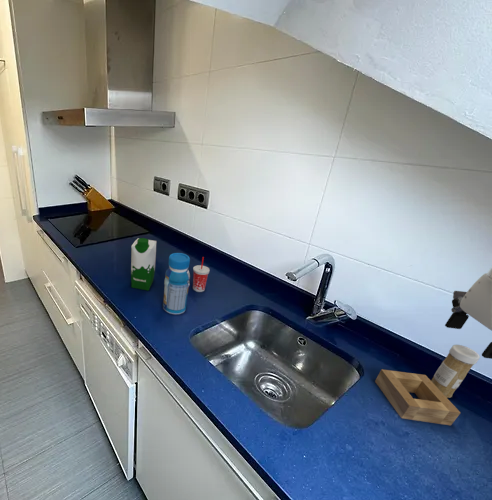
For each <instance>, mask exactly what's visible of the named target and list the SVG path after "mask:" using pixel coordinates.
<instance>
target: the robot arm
mask: <svg viewBox="0 0 492 500" xmlns="http://www.w3.org/2000/svg"><path fill="white" fill-rule="evenodd" d="M451 304H452V308H451V309H450V311H451V315H450V316H449V318H448V319H447V321H446V322H445V324H444V326H445V327H446V328H447V329H455V330H461V329H462V328H463V327H464V325H465V324H466V323H467V321H468V319H469V317H471V318H472V319H474V320H475V321H477V322H478V323H479V324H481V325H483V326H484V327H485V328H487V329H488V330H490V331H492V266H491V267H490V268H489V270H488V271H487V272H485V273H483V274H482V275H481V276H480V277H478V279H477V280H476V281H475V282H474V283H473V284H472V285H471V286H470V288H469V289H467V291H462V290H454V291H453V293H452V300H451ZM481 357H482V358H484V359H490V360H492V341H491V342H489V344H488V345H487V346H486V347H485V348H484V350H483V351H482V353H481Z"/></svg>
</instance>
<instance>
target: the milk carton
mask: <svg viewBox="0 0 492 500" xmlns="http://www.w3.org/2000/svg"><path fill="white" fill-rule="evenodd" d="M130 249H131V253H130V255H131V256H130V257H131V258H130V259H131V260H130V262H131V263H130V287H131V288H133V289H138V290H143V291H150V289H151V287H152V285H153V283H154V280H155V279H154V278H155V273H156V259H157V240H152V239H148V238H144V237H140V238H139V237H137V239H135V240H134V242H133V243H132V244H131V248H130Z"/></svg>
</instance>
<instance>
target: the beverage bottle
mask: <svg viewBox="0 0 492 500" xmlns="http://www.w3.org/2000/svg"><path fill="white" fill-rule="evenodd" d="M190 262H191V258H190V256H189V255H187V254H186V253H183V252H173V253H171V254H169V257H168V262H167V263H168V268H167V269H166V271H165V274H164V276H165V278H164V282H163V285H164V287H163V288H164V290H163V300H162V309H163V310H164V311H165V312H166V313H168V314H170V315H181V314H184V313H185V311H186V310H187V303H188V302H187V301H188V294H189V288H190V285H191V284H190V283H191V282H190V280H191V274H190V271H189V267H190V264H191V263H190Z"/></svg>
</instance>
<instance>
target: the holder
mask: <svg viewBox="0 0 492 500" xmlns="http://www.w3.org/2000/svg"><path fill="white" fill-rule="evenodd" d="M431 380H432V379H430V378H429V377H428V376H427V375H426V374H421V373H414V372H413V373H412V372H405V371H398V370H390V369H383V368H382V369H380V371H379V372H378V374H377V377H376V379H375V380H374V382H375V384H376V386H378V388H379V389H380V391H381V392H382V394H383V395H384V396H385V397H386V399H387V401H388V402H389V403H390V405H391V406H392V408H393V409H394V410H395V411H396V413H397V414H398V416H399V417H400V418H401V419H404V420H411V421H417V422H422V423H423V422H424V423H430V424H438V425H446V426H452V425H453V424H454V423H455V421H456V420H457V418H458V417H459V416H460V415H461V411H460V410H459V409H458V408H457V407H456V406H455V405H454V404H453V403H452V402H451V400H449V398H446V396H445V395H444V394H443V393H442V392H441V391H440V390H439V389H438V388H437V387H436V386H435V385H434V384H433V383H432V381H431ZM410 393H411V394H415V396H416V397H417V398H413V396H412V395H411V394H410Z"/></svg>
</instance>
